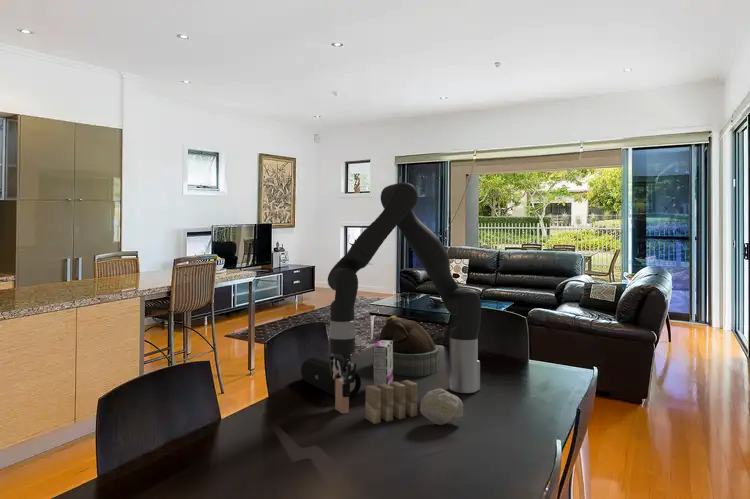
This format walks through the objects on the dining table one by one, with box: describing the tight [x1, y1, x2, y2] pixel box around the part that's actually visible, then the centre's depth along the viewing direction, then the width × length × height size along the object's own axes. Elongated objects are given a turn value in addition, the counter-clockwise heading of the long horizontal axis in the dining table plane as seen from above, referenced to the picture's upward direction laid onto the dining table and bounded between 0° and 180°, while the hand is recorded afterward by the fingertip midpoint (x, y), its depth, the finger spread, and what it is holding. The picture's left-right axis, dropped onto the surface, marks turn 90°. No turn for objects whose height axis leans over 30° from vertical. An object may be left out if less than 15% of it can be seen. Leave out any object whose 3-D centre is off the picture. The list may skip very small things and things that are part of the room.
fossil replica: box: [419, 388, 465, 426], centre depth 130 cm, size 12×8×10 cm
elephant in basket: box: [379, 315, 441, 377], centre depth 187 cm, size 23×25×22 cm
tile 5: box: [334, 378, 350, 415], centre depth 143 cm, size 2×5×9 cm, turn 29°
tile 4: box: [364, 384, 382, 425], centre depth 134 cm, size 2×5×9 cm, turn 29°
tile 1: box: [401, 379, 418, 418], centre depth 140 cm, size 2×5×9 cm, turn 29°
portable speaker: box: [300, 355, 362, 399], centre depth 163 cm, size 26×10×10 cm, turn 36°
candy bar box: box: [372, 340, 394, 388], centre depth 161 cm, size 11×5×16 cm, turn 168°
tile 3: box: [378, 383, 394, 422], centre depth 136 cm, size 2×5×9 cm, turn 29°
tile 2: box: [390, 381, 406, 420], centre depth 138 cm, size 2×5×9 cm, turn 29°
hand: (341, 393), depth 143 cm, fingers closed on tile 5, 5 cm apart
